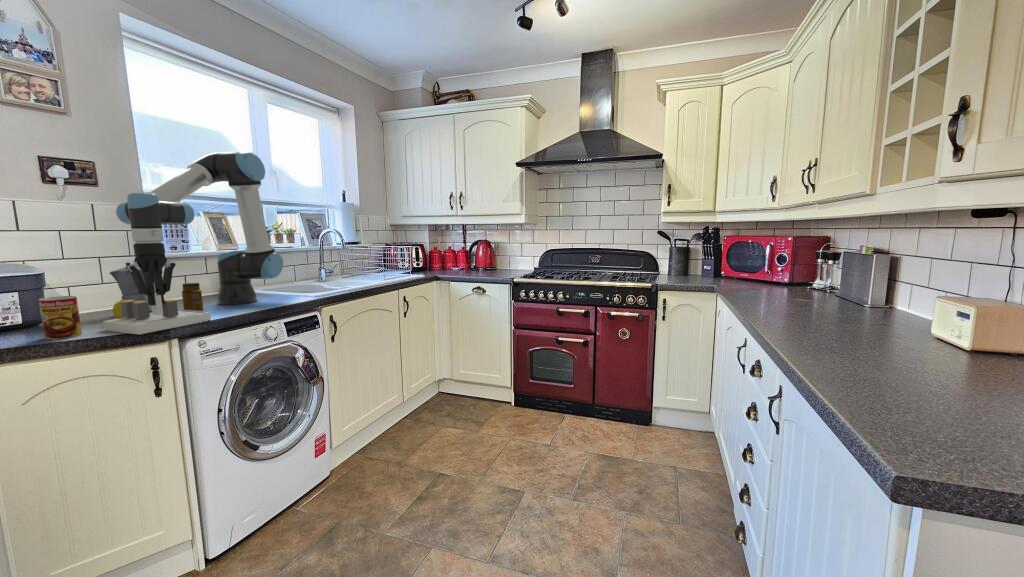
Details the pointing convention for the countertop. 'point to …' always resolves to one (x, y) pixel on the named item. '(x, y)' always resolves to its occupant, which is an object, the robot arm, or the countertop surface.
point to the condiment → (192, 297)
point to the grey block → (170, 308)
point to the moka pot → (129, 285)
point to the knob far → (127, 308)
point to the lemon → (118, 310)
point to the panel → (156, 322)
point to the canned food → (60, 317)
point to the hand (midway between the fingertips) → (158, 314)
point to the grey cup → (140, 309)
